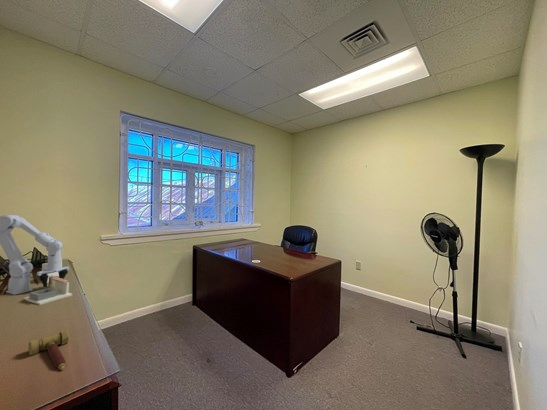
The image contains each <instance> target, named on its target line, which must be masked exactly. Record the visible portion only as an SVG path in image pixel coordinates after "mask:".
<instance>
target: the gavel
mask: <svg viewBox="0 0 547 410" xmlns="http://www.w3.org/2000/svg"><path fill="white" fill-rule="evenodd" d="M69 340H70V334H69V331H68V330H67V329H65V330H62V331H59V333H55V334H52V335H50V336H46V337H43V338H41V339H38V338H37V339H34V340H30V341H29V342H28V353H29V356H33V355H36V354H39V352H41V351H42V352H43V351H46V350H47V353H48V355H49V356H50V359H51V361H52V363H53V365H54V368H56V369H59V370H60V371H62V370H65V367H66V366H65V365H66V360H65V358H64V356H63V353H62V352H61V351H60V348H59V346H58V345H61V346H62V345H65V344H68V343H69Z"/></svg>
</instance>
